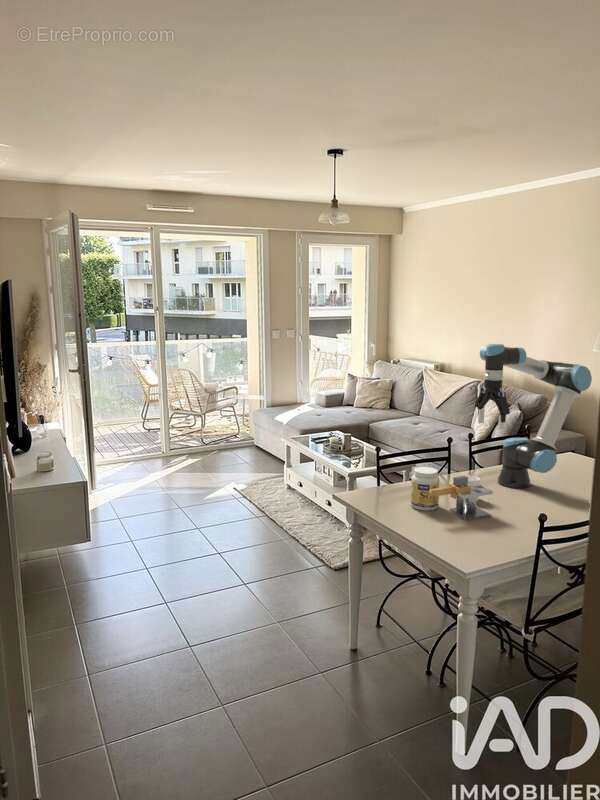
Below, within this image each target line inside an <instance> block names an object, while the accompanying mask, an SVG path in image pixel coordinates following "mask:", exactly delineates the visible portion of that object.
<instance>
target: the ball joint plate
mask: <svg viewBox="0 0 600 800" xmlns="http://www.w3.org/2000/svg"><path fill="white" fill-rule="evenodd" d="M466 485H468V486H470V487H471V491H469V492H463V493H457V492H456V497H457V496H459V497H461V498H463V499H465V501H464V509H463V515H458V514H456V507H453V508H450V509H449V512H451V513H453V514H455V515H456V516H458V517H460V518H462V519H463V520H466V521H468V522H469V521H473V520H479V519H485V518H490V517H491V515H492V514H491V513H489V512H487V511H485V510H484V509H481V508H479V507H477V501H476V500H477V497H478V496H479V497H483V496H490V495H493V494H494V490H492V489H490V488H488V487H486V486H484V485H481V484H480V485H479V484H477V483H474V482H472V483H468V484H466ZM445 487H449V485H447V486H445Z"/></svg>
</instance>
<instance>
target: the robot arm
mask: <svg viewBox="0 0 600 800" xmlns="http://www.w3.org/2000/svg"><path fill="white" fill-rule="evenodd" d="M479 357H480V359H481V360H482V361H485V365H484V367H485V369H484V378H485V379H484V383H483V384H484V385H483V387H481V388H480V391H479V394H478V397H477V398H476V402H475V404H474V407H476V409H477V416H478V418H477V423H478V424H484V423H485V412H486V411H485V406H486V405H487V403H488V402H489V401H490V400H491V401H493V403H495V405H496V407H497V409H498V411H499V415H498V426H497V428H498V430H500V431H501V430H505V427H506V425H505V423H506V421H507V415H510V414H511V412H510V407H509V404H508V401H507V400H508V399H507V396H506V395H507V394H506V393H507V392H505V391H501V389H502V388H503V377H504V376H503V375H504V374H503V373H504V367H507V368H510V369H512V370H516V371H518V372H522V373H524V374H528V375H531V376H533V377H534V379H537V380H539V381H542V382H544V383H547V384H549V385H552V386H553V387H554V389H555V393H554V395H553V398H552V400H551V402H550V404H549V406H548V409H547V411H546V413H545V415H544V419H543V420H542V423H541V425H540V427H539V430H538V431H537V433H536V436H535V437H532V438H531V439H529V438H527V437H509V438H506V439H504V441H503V445H502V466H501V470H500V473H499V475H498V477H497V483H498V484H499V486H500V485H501V486H503V487H505V488H511V489H526V488H529V487H530V486H531V479H530V475H529V472H528V470H531V471H533V472H536V473H537V472H538V473H539V474H540V473H541V474H545V473H548V472H550V471H551V470H553V469H554V468H555V466H556V463H557V461H558V458H557V457H558V456H557V453H556V449H557V448H556V446H555V443H556V441H557V439H558V436H559V435H560V432H561V430H562V428H563V425H564V423H565V421H566V419H567V416H568V414H569V412H570V410H571V407H572V404H573V403H574V400H575V398H578V397H580V395H581V393H582V392H584V391H586V390H588V389H589V388H590V387H591V384H592V380H593V378H592V372H591V370H590V369H589V368H588V367H587V366H585V365H581V364H573V363H569V362H568V363H567V362H561V361H560V362H559V361H558V362H557V361H556V362H555V361H548V360H546V359H545V360H544V359H540V360H537V359H534V358H532V357H529V356H527V352H526V350H525V349H524V348H523V347H509V346H505V345H504V344H502V343H489V344H487V345H486V344H485V345H483V346H481V348H480V350H479Z"/></svg>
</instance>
